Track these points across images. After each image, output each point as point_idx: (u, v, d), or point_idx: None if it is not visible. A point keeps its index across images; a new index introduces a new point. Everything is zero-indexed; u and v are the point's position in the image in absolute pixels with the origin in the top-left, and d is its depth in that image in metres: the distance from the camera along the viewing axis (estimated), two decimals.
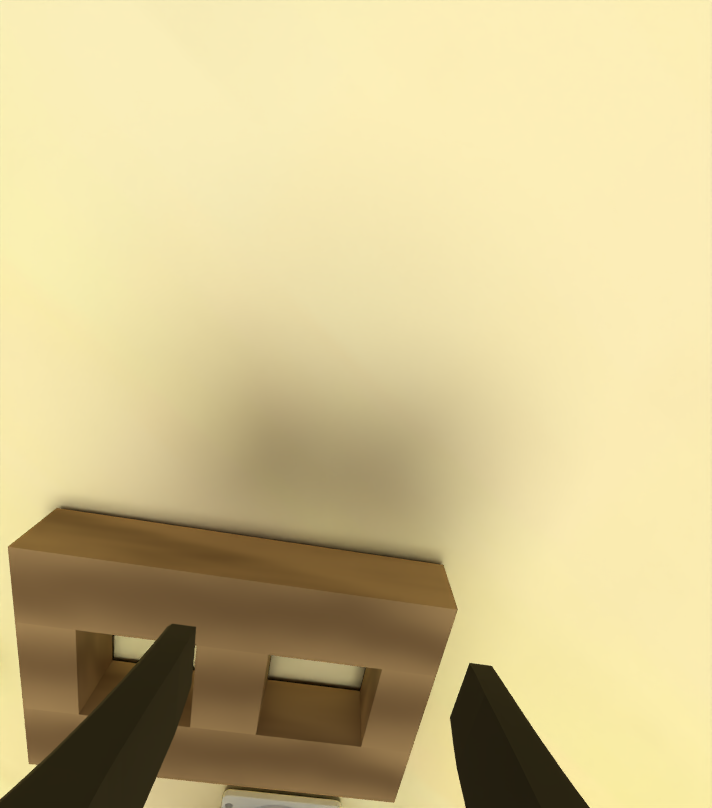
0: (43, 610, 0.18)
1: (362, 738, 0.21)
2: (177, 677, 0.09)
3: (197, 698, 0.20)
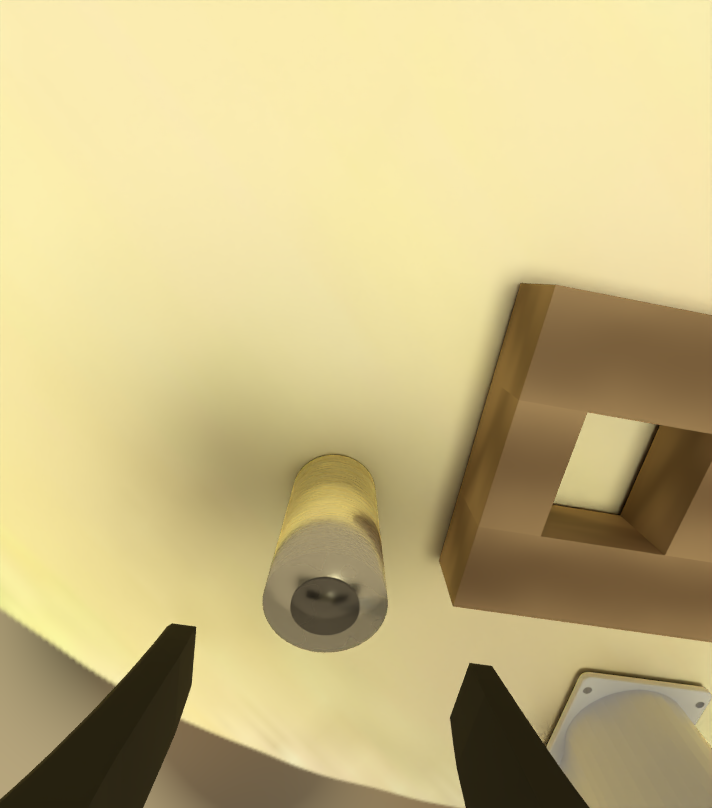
0: (560, 383, 0.15)
1: None
2: (177, 677, 0.09)
3: (691, 513, 0.17)
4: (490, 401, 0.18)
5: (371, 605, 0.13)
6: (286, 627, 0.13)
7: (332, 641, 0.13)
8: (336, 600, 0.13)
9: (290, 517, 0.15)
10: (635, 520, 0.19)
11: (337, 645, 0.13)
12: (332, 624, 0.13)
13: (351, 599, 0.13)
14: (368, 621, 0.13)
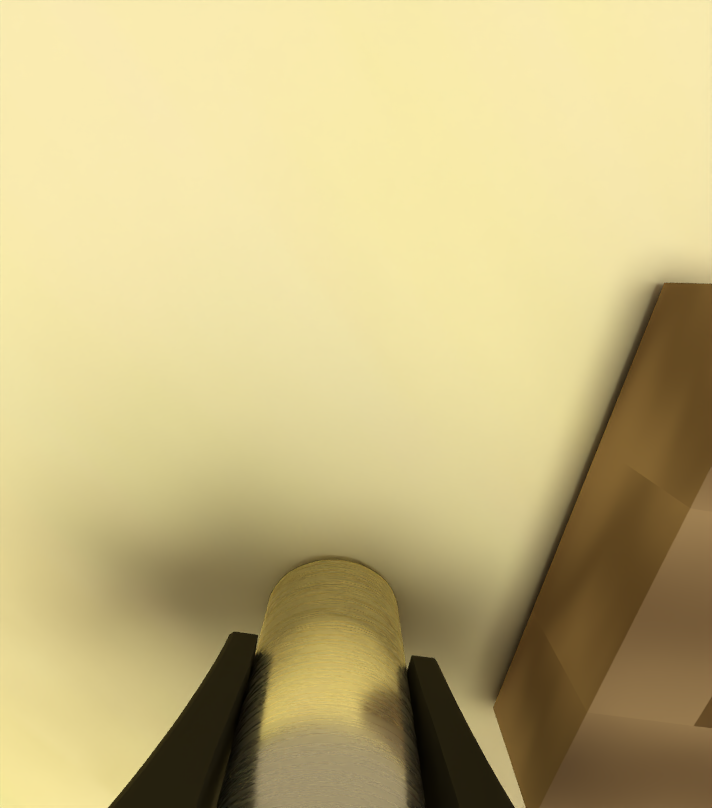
0: None
1: None
2: (245, 685, 0.09)
3: None
4: (598, 483, 0.10)
5: None
6: None
7: None
8: None
9: (248, 730, 0.08)
10: None
11: None
12: None
13: None
14: None
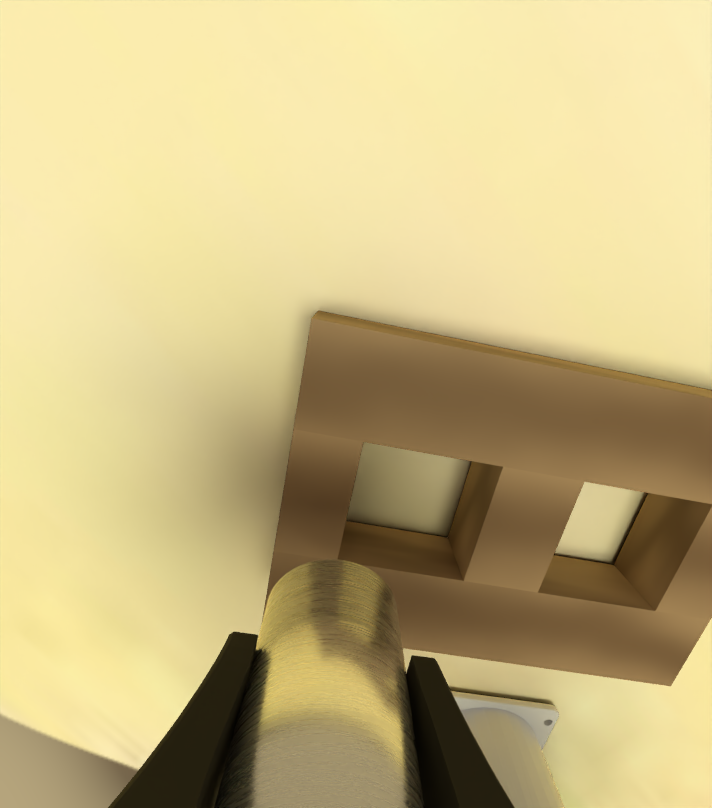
0: (332, 413, 0.15)
1: (658, 600, 0.18)
2: (245, 686, 0.09)
3: (483, 541, 0.17)
4: None
5: None
6: None
7: None
8: None
9: (247, 729, 0.08)
10: (454, 543, 0.19)
11: None
12: None
13: None
14: None
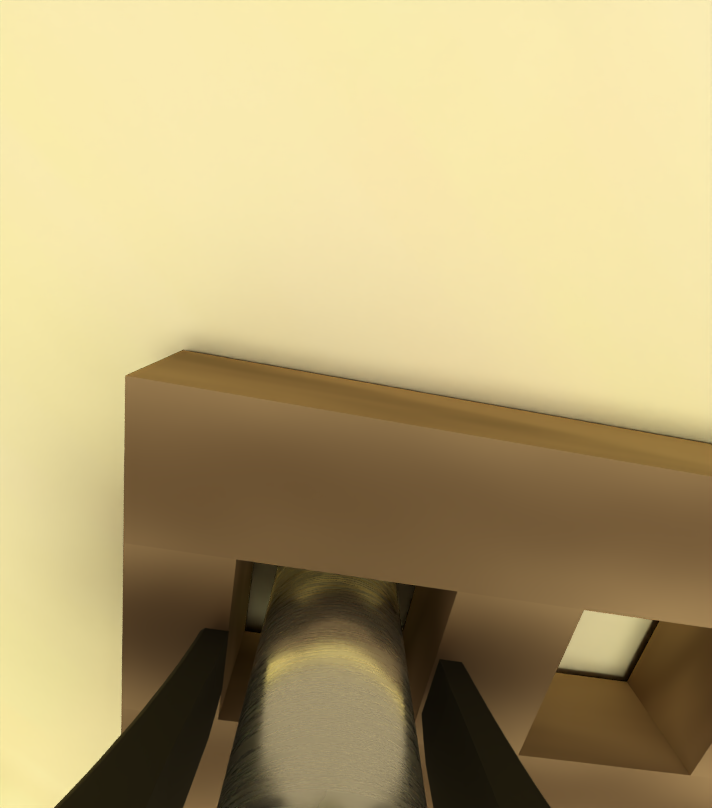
0: (181, 519, 0.09)
1: (694, 761, 0.12)
2: (213, 682, 0.09)
3: None
4: None
5: None
6: None
7: None
8: None
9: (266, 658, 0.09)
10: None
11: None
12: None
13: None
14: None
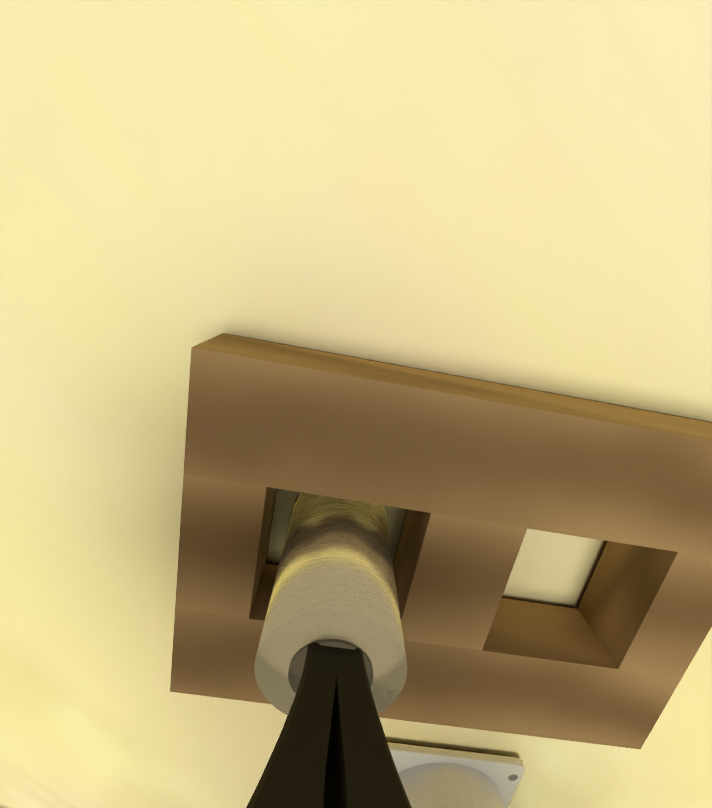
0: (226, 455, 0.13)
1: (621, 657, 0.16)
2: None
3: (415, 595, 0.15)
4: None
5: (387, 673, 0.11)
6: (283, 695, 0.11)
7: None
8: None
9: (289, 555, 0.13)
10: None
11: None
12: None
13: None
14: (382, 691, 0.11)
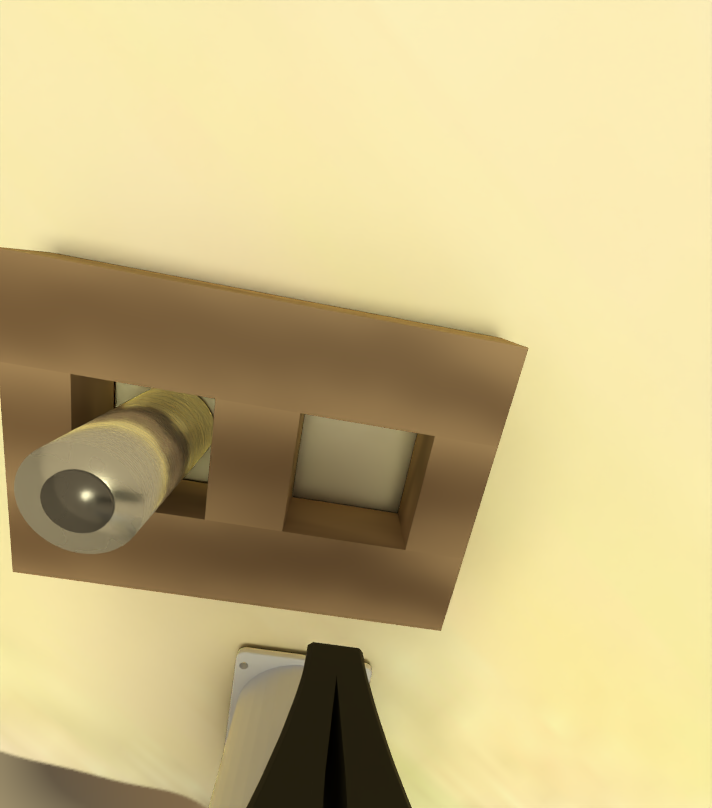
0: (32, 344, 0.15)
1: (407, 539, 0.18)
2: None
3: (214, 477, 0.17)
4: None
5: (127, 502, 0.13)
6: (44, 524, 0.13)
7: (94, 541, 0.13)
8: (86, 494, 0.12)
9: None
10: None
11: (99, 546, 0.13)
12: (87, 521, 0.13)
13: (101, 494, 0.12)
14: (127, 520, 0.13)
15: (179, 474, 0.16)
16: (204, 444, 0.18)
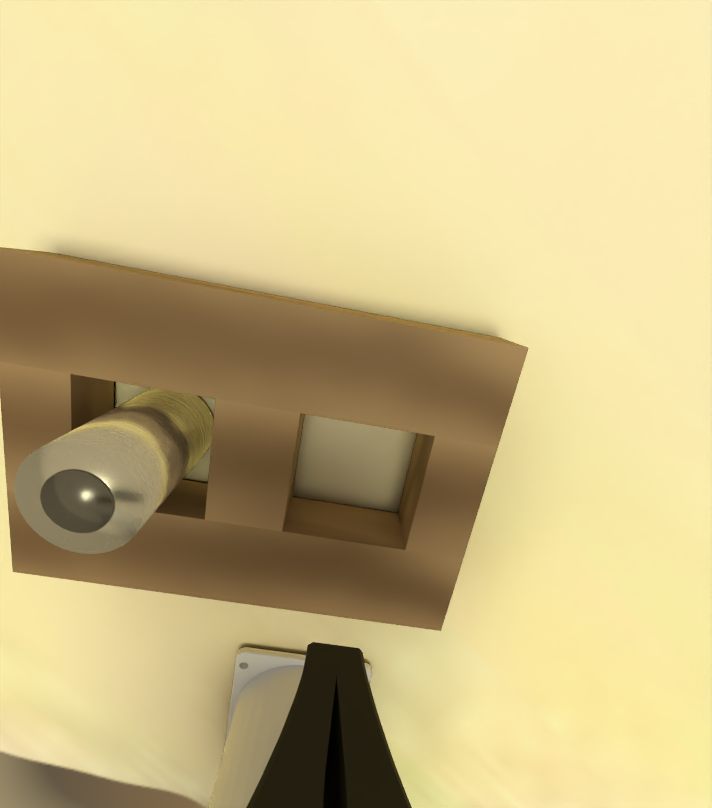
0: (32, 344, 0.15)
1: (407, 539, 0.18)
2: None
3: (214, 477, 0.17)
4: None
5: (127, 502, 0.13)
6: (44, 524, 0.13)
7: (94, 541, 0.13)
8: (86, 494, 0.12)
9: None
10: None
11: (99, 546, 0.13)
12: (87, 521, 0.13)
13: (101, 493, 0.12)
14: (127, 520, 0.13)
15: (179, 474, 0.16)
16: (204, 444, 0.18)
